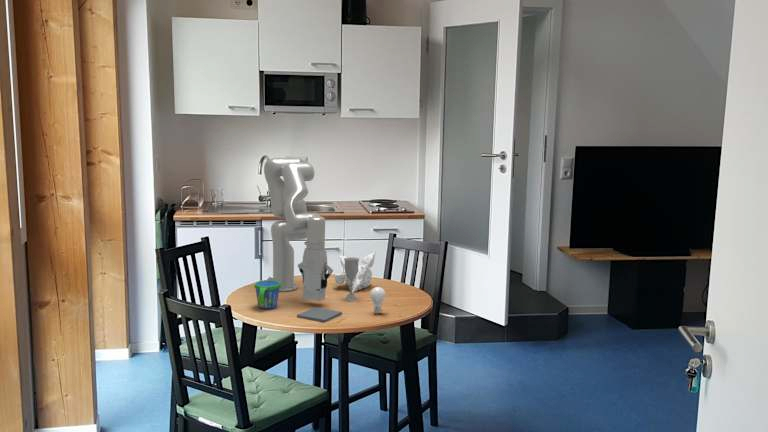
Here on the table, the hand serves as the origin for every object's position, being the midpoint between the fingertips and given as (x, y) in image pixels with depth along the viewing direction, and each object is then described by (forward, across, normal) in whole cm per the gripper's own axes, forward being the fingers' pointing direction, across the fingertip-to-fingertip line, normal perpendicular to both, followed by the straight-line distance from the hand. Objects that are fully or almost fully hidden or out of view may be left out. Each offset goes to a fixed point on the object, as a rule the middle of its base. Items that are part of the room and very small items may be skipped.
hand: (314, 286), depth 278 cm
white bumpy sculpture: (+9, 0, +35) cm, 36 cm away
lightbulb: (+8, +29, +3) cm, 30 cm away
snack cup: (+8, -14, -14) cm, 21 cm away
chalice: (+8, +9, +16) cm, 20 cm away
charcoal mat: (+8, +11, -12) cm, 18 cm away
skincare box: (+6, 0, 0) cm, 6 cm away
